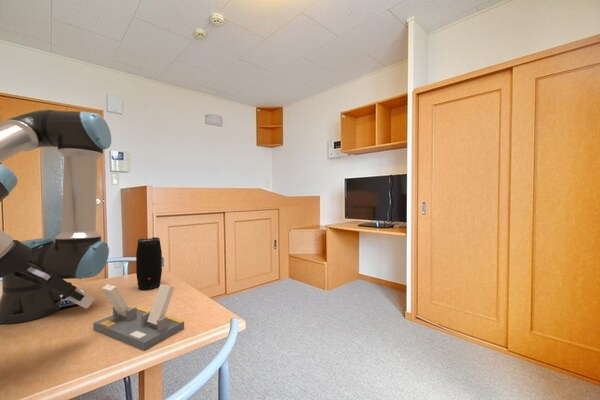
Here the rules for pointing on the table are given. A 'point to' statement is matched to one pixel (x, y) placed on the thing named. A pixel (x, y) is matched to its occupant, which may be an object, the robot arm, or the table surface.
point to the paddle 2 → (160, 304)
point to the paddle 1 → (116, 299)
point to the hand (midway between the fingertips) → (89, 303)
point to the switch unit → (138, 327)
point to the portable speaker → (148, 263)
